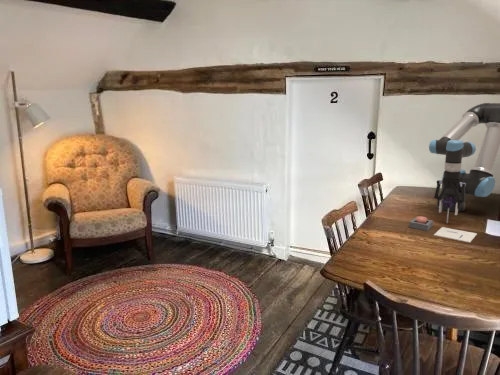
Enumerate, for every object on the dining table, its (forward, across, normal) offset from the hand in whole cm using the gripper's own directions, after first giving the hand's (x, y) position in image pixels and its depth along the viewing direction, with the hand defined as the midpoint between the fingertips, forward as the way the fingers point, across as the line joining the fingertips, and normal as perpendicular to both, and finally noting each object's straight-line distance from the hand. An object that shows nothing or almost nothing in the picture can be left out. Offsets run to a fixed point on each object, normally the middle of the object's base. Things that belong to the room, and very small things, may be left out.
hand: (448, 213), depth 211 cm
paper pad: (+6, +8, -16) cm, 19 cm away
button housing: (+6, -9, -14) cm, 18 cm away
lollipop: (+6, 0, 0) cm, 6 cm away
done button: (+4, -9, -14) cm, 17 cm away
